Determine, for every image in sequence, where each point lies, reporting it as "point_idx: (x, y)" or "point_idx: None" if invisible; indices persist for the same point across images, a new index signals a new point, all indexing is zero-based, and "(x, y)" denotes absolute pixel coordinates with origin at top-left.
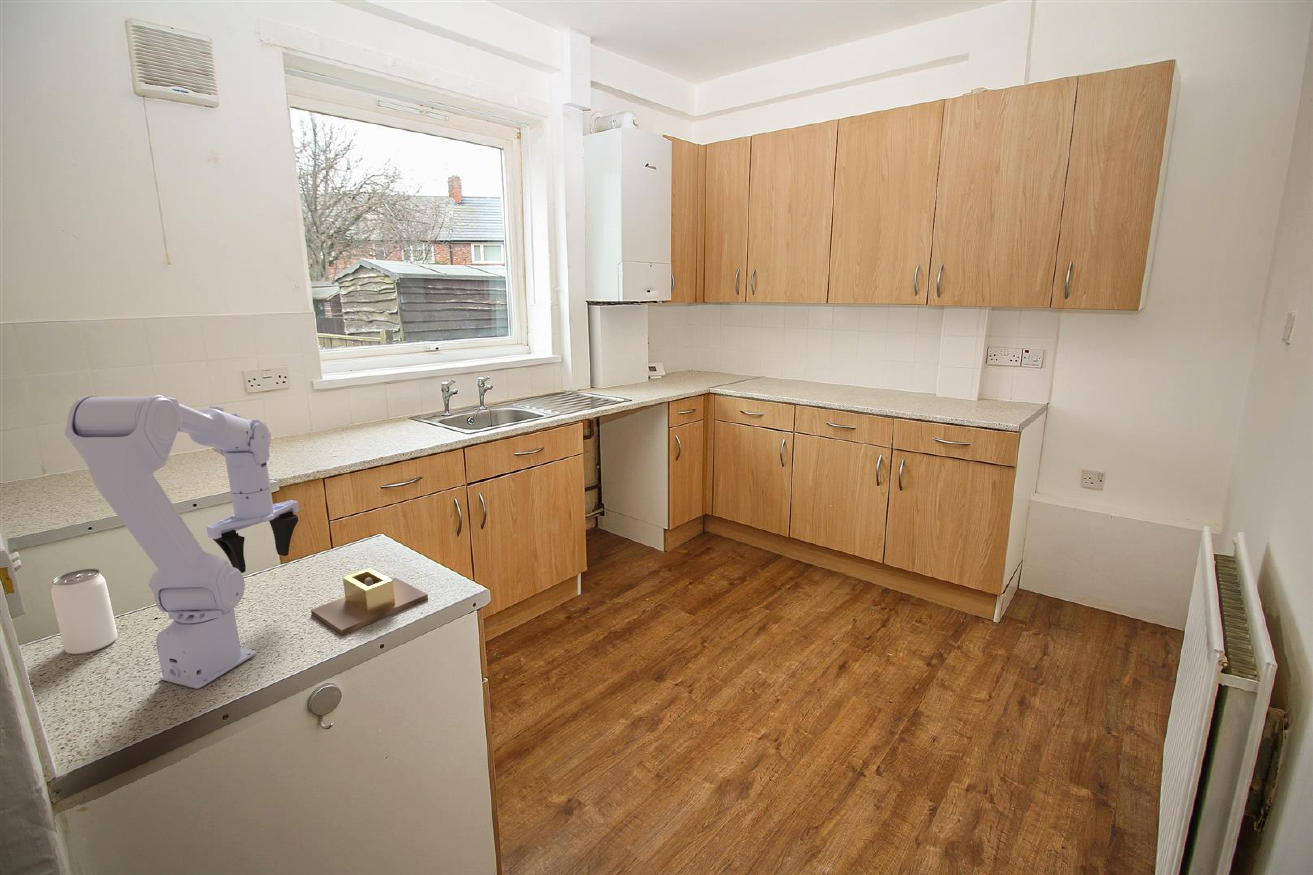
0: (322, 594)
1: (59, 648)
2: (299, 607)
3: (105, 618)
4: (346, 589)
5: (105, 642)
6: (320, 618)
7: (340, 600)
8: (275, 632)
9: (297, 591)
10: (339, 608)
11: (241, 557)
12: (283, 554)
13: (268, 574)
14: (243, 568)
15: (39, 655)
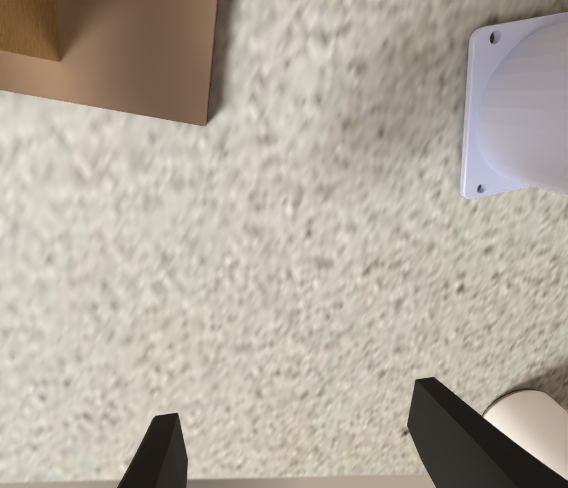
0: (95, 240)
1: None
2: (200, 218)
3: (562, 449)
4: (21, 23)
5: (525, 397)
6: (214, 34)
7: (78, 84)
8: (344, 124)
9: (143, 325)
10: (121, 12)
11: (512, 459)
12: (178, 431)
13: None
14: (444, 392)
15: None
